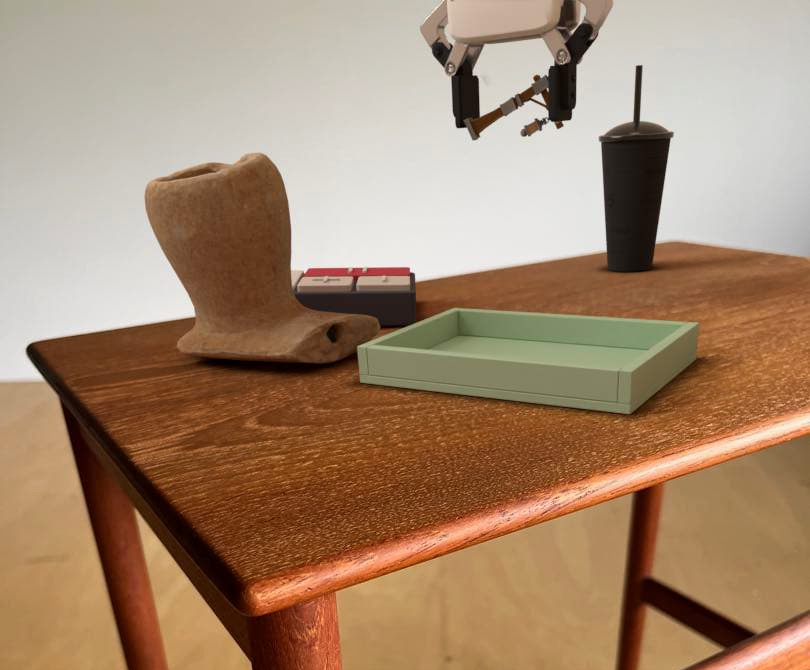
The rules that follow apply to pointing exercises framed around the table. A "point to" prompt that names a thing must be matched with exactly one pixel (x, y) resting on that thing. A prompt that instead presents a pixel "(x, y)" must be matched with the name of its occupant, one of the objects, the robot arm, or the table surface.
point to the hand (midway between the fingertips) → (512, 123)
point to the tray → (534, 357)
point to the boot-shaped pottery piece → (243, 266)
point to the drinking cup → (633, 187)
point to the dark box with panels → (359, 292)
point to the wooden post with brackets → (512, 104)
